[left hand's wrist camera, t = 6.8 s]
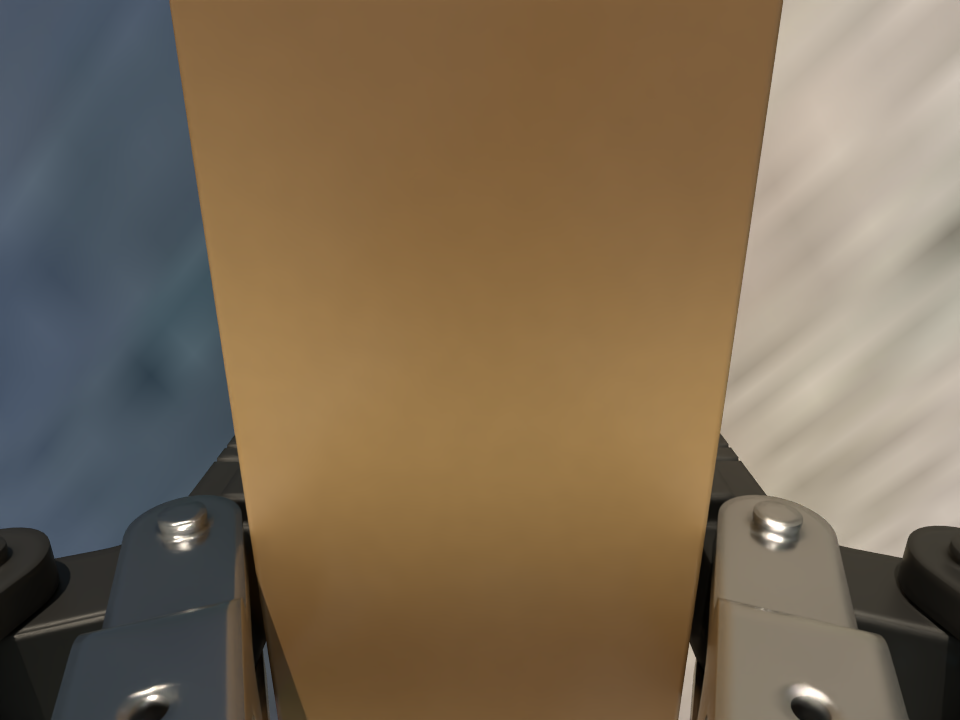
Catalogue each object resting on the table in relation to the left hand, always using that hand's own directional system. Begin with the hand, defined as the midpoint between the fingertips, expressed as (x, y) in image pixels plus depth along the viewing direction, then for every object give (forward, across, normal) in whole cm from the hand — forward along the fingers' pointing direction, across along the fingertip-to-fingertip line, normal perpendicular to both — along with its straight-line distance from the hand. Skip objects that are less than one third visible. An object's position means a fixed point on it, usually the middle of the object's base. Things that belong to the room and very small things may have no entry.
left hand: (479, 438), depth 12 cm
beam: (+2, 0, -24) cm, 24 cm away
